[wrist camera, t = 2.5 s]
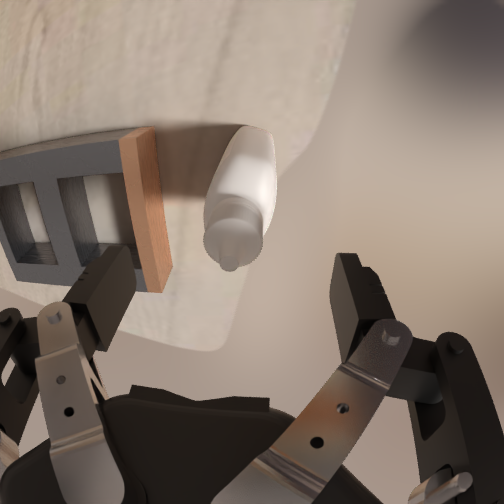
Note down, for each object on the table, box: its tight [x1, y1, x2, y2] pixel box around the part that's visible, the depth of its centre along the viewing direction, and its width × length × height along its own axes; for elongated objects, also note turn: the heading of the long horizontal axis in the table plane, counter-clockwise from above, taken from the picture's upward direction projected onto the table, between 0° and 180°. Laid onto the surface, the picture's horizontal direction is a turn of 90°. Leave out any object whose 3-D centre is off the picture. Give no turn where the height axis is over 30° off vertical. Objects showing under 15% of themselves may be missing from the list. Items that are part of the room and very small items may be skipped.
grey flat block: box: [0, 126, 173, 293], centre depth 22 cm, size 12×16×4 cm
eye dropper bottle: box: [203, 126, 277, 272], centre depth 17 cm, size 4×6×12 cm
